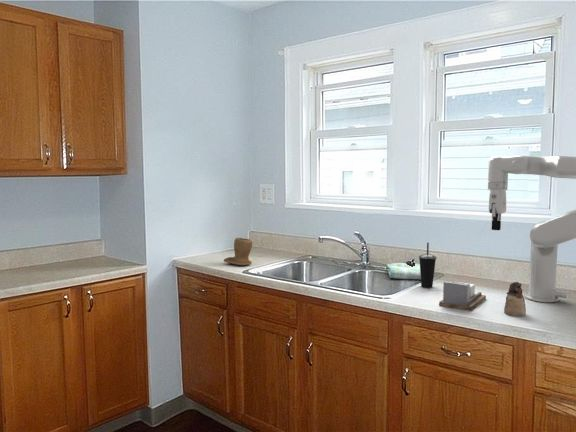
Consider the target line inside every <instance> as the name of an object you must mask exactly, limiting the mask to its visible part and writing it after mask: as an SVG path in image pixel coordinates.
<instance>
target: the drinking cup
mask: <svg viewBox="0 0 576 432" xmlns="http://www.w3.org/2000/svg"><path fill="white" fill-rule="evenodd" d="M429 244H430V243H429V242H426V253H423V254H421V255H419V256H418V258H419V264H420V274H421V280H420V286H421V288H424V289H430V288H433V287H434V277H435V269H436V261H437V256H435V255H433V254H432V253H429V250H430V246H429Z"/></svg>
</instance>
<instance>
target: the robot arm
mask: <svg viewBox="0 0 576 432" xmlns="http://www.w3.org/2000/svg"><path fill="white" fill-rule="evenodd" d="M509 174H512V175H535V176H537V175H538V176H545V177H550V178H555V179H570V180H571V179H572V180H576V156H566V155H555V156H532V155H512V156H499V155H498V156H497V155H496V156H491V157H489V159H488V174H487V175H488V176H487V190H488V191H489V197H488V213H490V214H491V230H492V231H501V229H502V228H501V227H502V226H501V225H502V214H505V213H506V212H507V191H508V188H509V187H508V183H509ZM575 239H576V209H573V210H570V211H567V212H565V213H563V214H562V215H561V216H558V217H555V218H553V219H550V220H542V221H539V222H536V223H534V225H533V227H532V228H531V230H530V231H529V240H530V242H531V243H530V256H529V257H530V258H529V280H528V291H527V292H524V295H523V296H524V299H527V300H530V301H534V302H538V303H557V302H559V301H560V298H563V299H568V298H569V297H568V296H569V295H568V293H567V292H564V291H559V290H558V288H557V287H556V283H557V281H556V280H557V267H558V266H557V263H558V250H559V249H558V248H559V247H558V246H559V245H561V244H562V243H566V242H568V241H573V240H575Z"/></svg>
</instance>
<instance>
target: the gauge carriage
mask: <svg viewBox="0 0 576 432" xmlns="http://www.w3.org/2000/svg"><path fill="white" fill-rule="evenodd" d="M459 283H462V282H460V281H459ZM465 283H466V282H465ZM466 284H470V297H469V299H470V298H471V297H473V296H474V294H476V292H475V291H476V290H475V288H476V284H475V283H466Z"/></svg>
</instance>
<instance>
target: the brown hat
mask: <svg viewBox="0 0 576 432" xmlns="http://www.w3.org/2000/svg"><path fill="white" fill-rule="evenodd" d="M233 242H234V243H233V249H234V256H230V257H226V258H224V259H223V262H224V263H227V264H231V265H237V266H249V265H252V263H253V262H252V261H251V260H250V259H249V256H250V253H251V251H252V248H253V241H252V239H249V238H245V237H244V238H243V237H236V238H234V241H233Z"/></svg>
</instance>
